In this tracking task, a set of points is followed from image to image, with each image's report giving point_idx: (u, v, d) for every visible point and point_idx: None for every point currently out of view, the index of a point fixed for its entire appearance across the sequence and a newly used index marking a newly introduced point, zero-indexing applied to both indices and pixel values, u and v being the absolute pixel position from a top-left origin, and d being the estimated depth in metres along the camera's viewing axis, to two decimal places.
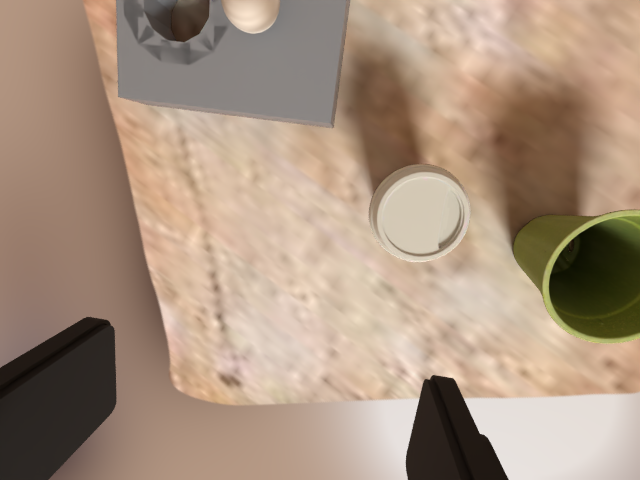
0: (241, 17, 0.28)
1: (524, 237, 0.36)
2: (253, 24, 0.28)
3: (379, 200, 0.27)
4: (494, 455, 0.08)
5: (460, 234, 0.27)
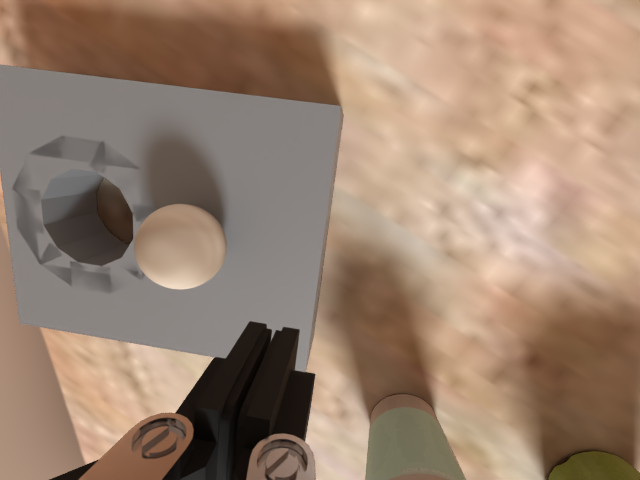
0: (165, 286, 0.19)
1: None
2: None
3: None
4: (312, 387, 0.09)
5: None
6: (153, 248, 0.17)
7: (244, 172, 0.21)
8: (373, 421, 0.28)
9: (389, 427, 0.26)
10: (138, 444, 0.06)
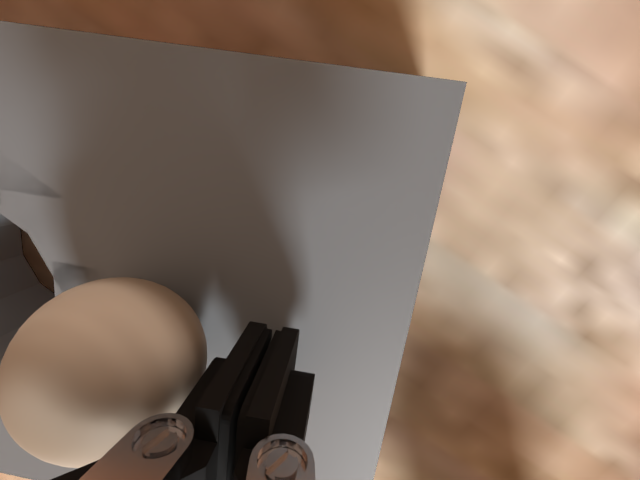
0: None
1: None
2: None
3: None
4: (312, 387, 0.09)
5: None
6: (12, 403, 0.07)
7: (261, 210, 0.11)
8: None
9: None
10: (139, 444, 0.06)
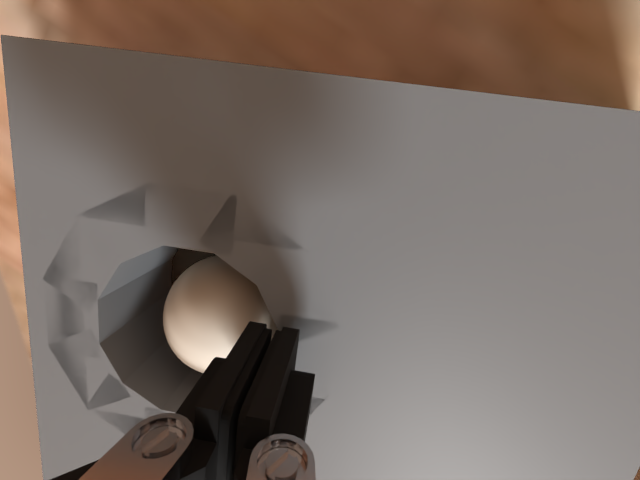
0: None
1: None
2: None
3: None
4: (312, 387, 0.09)
5: None
6: None
7: (529, 262, 0.10)
8: None
9: None
10: (138, 444, 0.06)
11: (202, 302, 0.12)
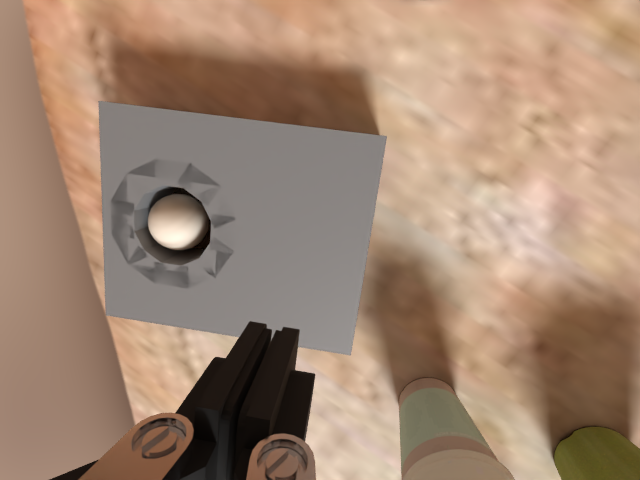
0: (181, 249, 0.30)
1: (570, 461, 0.32)
2: None
3: None
4: None
5: None
6: None
7: (306, 188, 0.25)
8: (403, 401, 0.33)
9: (419, 403, 0.30)
10: (138, 444, 0.06)
11: (155, 207, 0.28)
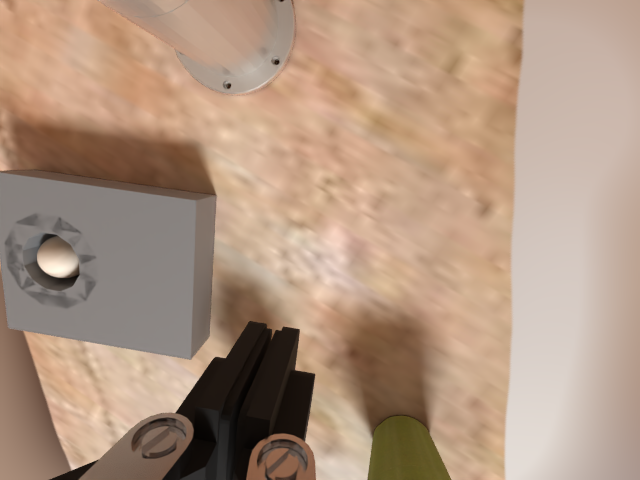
0: (66, 277, 0.38)
1: (373, 442, 0.40)
2: (54, 276, 0.38)
3: None
4: (312, 387, 0.09)
5: None
6: None
7: (144, 236, 0.34)
8: None
9: None
10: (138, 444, 0.06)
11: (41, 247, 0.37)
